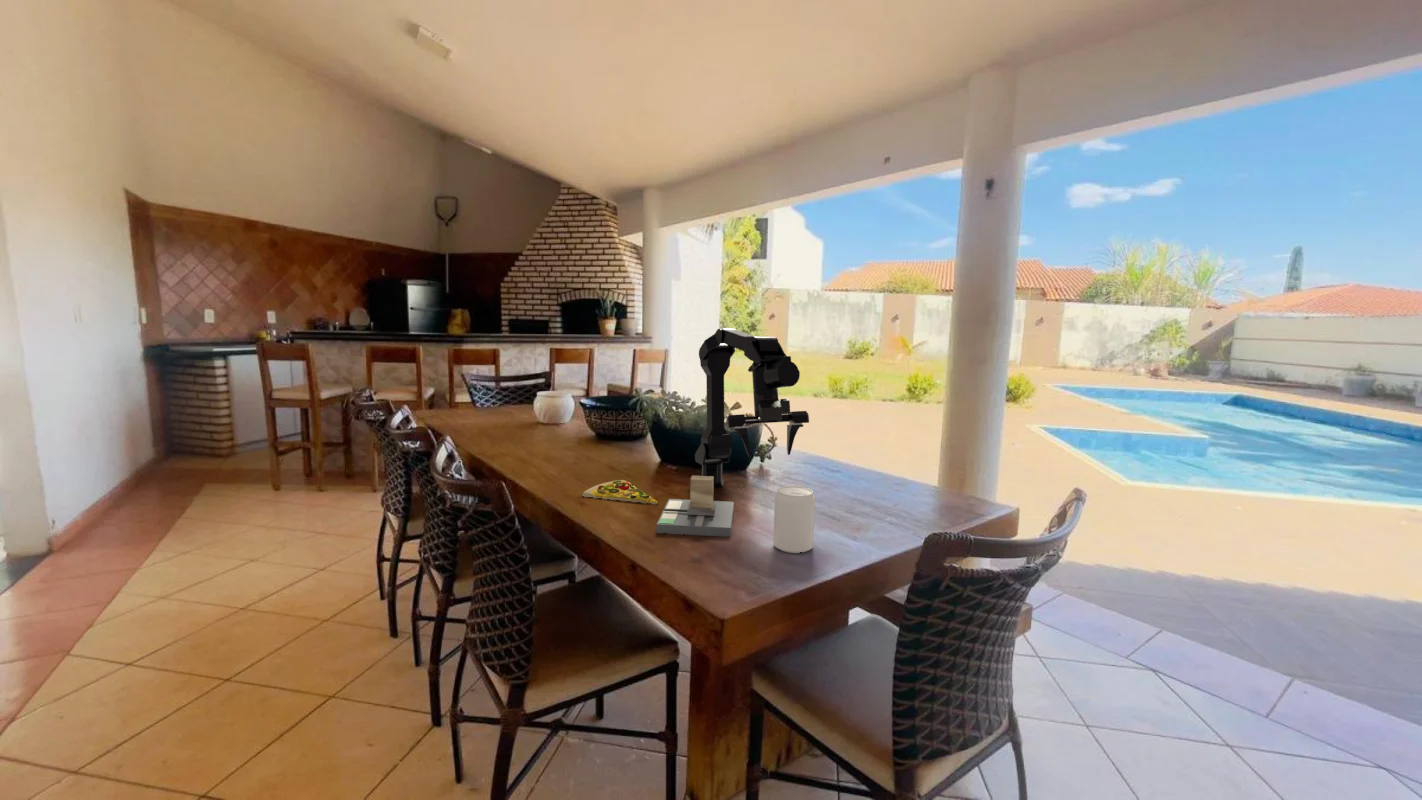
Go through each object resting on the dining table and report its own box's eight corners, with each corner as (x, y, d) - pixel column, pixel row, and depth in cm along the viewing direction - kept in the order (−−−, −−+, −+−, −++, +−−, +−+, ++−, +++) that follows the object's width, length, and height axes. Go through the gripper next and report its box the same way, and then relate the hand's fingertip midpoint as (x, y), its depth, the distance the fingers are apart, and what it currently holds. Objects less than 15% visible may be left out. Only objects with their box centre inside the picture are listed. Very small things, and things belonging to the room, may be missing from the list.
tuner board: (668, 506, 142) (669, 497, 141) (733, 509, 140) (733, 500, 140) (656, 533, 124) (656, 522, 124) (730, 536, 123) (730, 526, 122)
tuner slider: (665, 507, 134) (666, 473, 133) (715, 509, 133) (716, 475, 132) (662, 514, 129) (662, 479, 128) (713, 516, 128) (714, 481, 127)
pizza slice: (620, 485, 162) (620, 475, 161) (677, 500, 150) (677, 488, 149) (578, 498, 149) (577, 486, 149) (635, 515, 137) (635, 502, 137)
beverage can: (784, 536, 123) (786, 482, 122) (819, 545, 119) (822, 489, 117) (765, 548, 117) (767, 491, 115) (801, 558, 112) (804, 499, 111)
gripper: (728, 390, 126) (732, 461, 126) (812, 385, 127) (816, 456, 127) (725, 392, 137) (728, 457, 137) (802, 388, 138) (806, 452, 138)
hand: (769, 455), depth 134 cm, fingers open, 9 cm apart
